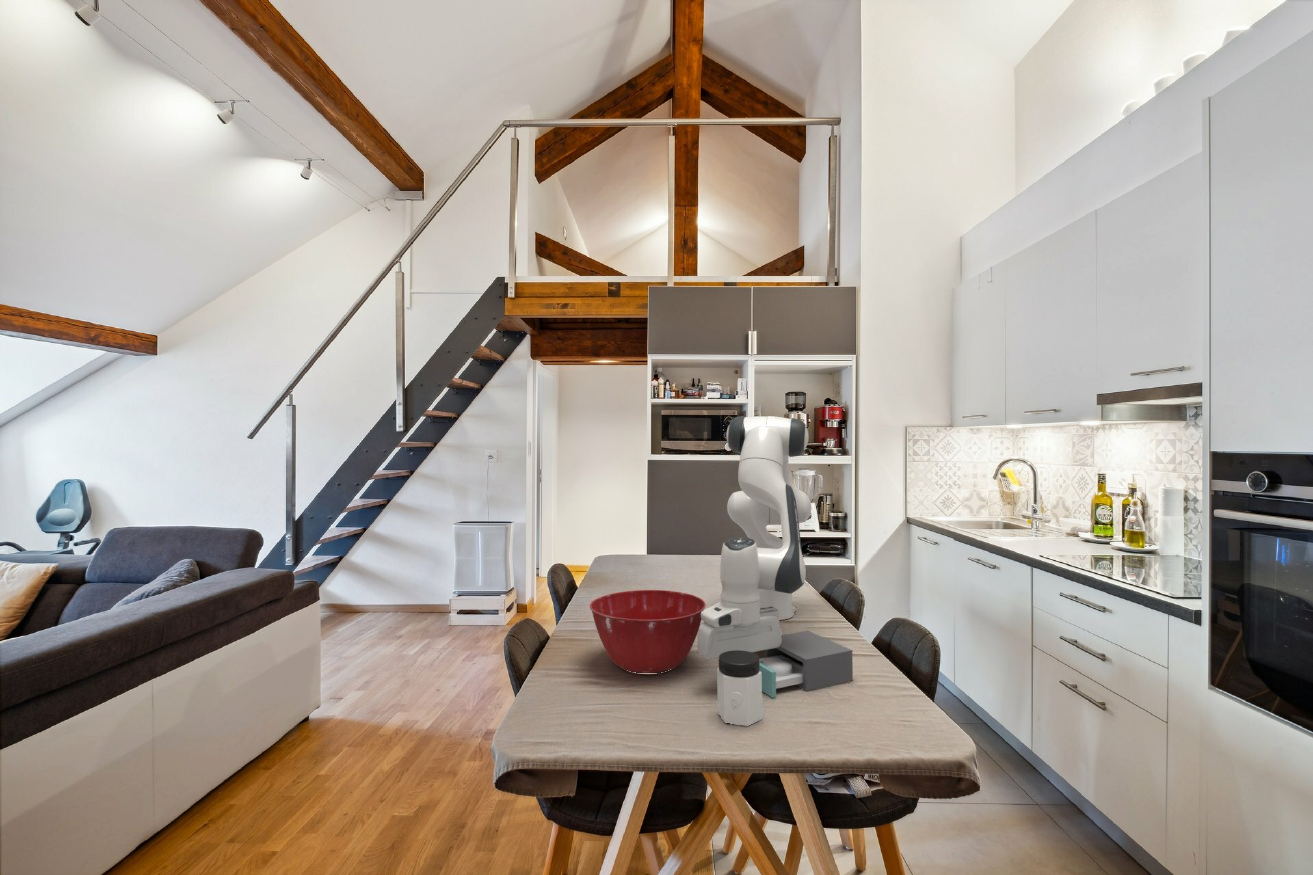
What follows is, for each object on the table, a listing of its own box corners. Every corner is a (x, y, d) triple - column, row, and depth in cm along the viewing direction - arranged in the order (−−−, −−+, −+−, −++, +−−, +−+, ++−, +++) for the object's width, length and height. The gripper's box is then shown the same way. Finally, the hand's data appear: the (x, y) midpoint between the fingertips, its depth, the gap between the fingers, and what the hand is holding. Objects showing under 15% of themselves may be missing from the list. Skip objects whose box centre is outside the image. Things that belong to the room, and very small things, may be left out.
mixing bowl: (637, 638, 174) (636, 583, 174) (727, 658, 157) (726, 597, 157) (566, 671, 151) (565, 607, 151) (663, 698, 134) (662, 627, 134)
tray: (733, 672, 147) (733, 649, 147) (778, 663, 153) (777, 641, 153) (772, 697, 133) (771, 672, 133) (819, 686, 138) (819, 662, 138)
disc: (780, 663, 148) (780, 655, 148) (798, 672, 142) (798, 664, 142) (757, 668, 145) (757, 660, 145) (774, 678, 139) (774, 670, 139)
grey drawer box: (764, 666, 151) (764, 638, 151) (808, 658, 157) (807, 630, 157) (806, 691, 137) (805, 659, 137) (852, 680, 142) (852, 650, 142)
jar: (713, 723, 122) (712, 662, 122) (721, 705, 130) (721, 648, 130) (759, 728, 120) (758, 666, 120) (765, 710, 127) (764, 652, 127)
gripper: (771, 601, 148) (771, 660, 148) (694, 613, 139) (695, 674, 139) (786, 608, 142) (787, 669, 142) (707, 620, 134) (708, 685, 134)
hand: (741, 672), depth 141 cm, fingers closed
